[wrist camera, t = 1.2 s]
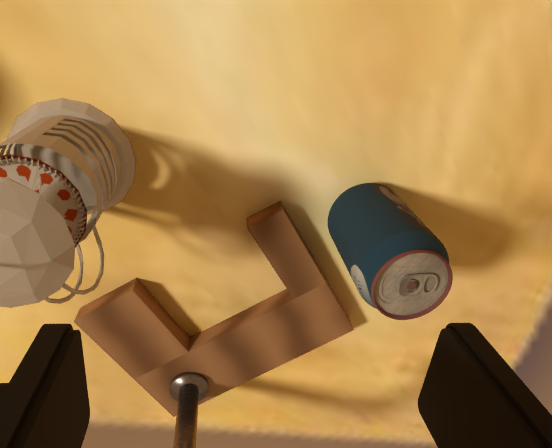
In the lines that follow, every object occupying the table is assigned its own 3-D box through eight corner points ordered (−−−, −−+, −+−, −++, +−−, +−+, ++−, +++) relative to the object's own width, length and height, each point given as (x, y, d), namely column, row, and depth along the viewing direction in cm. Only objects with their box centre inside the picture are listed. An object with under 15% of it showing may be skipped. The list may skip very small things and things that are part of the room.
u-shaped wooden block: (280, 200, 38) (283, 210, 36) (348, 317, 45) (353, 329, 43) (80, 308, 40) (73, 321, 39) (175, 401, 48) (173, 416, 46)
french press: (96, 78, 31) (-197, 247, 9) (166, 208, 37) (89, 508, 15) (-22, 126, 32) (-565, 393, 10) (65, 247, 37) (-158, 593, 15)
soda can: (322, 246, 40) (359, 330, 30) (326, 179, 37) (369, 247, 27) (391, 242, 41) (450, 323, 31) (401, 176, 38) (471, 241, 27)
